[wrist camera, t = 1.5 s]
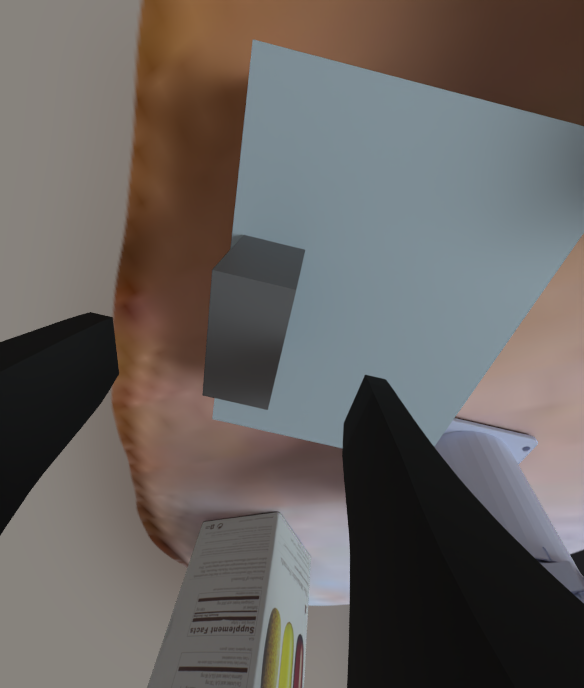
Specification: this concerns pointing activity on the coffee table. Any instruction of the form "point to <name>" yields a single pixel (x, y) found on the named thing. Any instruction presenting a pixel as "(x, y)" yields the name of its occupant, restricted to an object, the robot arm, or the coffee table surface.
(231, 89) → the coffee table surface
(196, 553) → the supplement box
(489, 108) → the lid flap
